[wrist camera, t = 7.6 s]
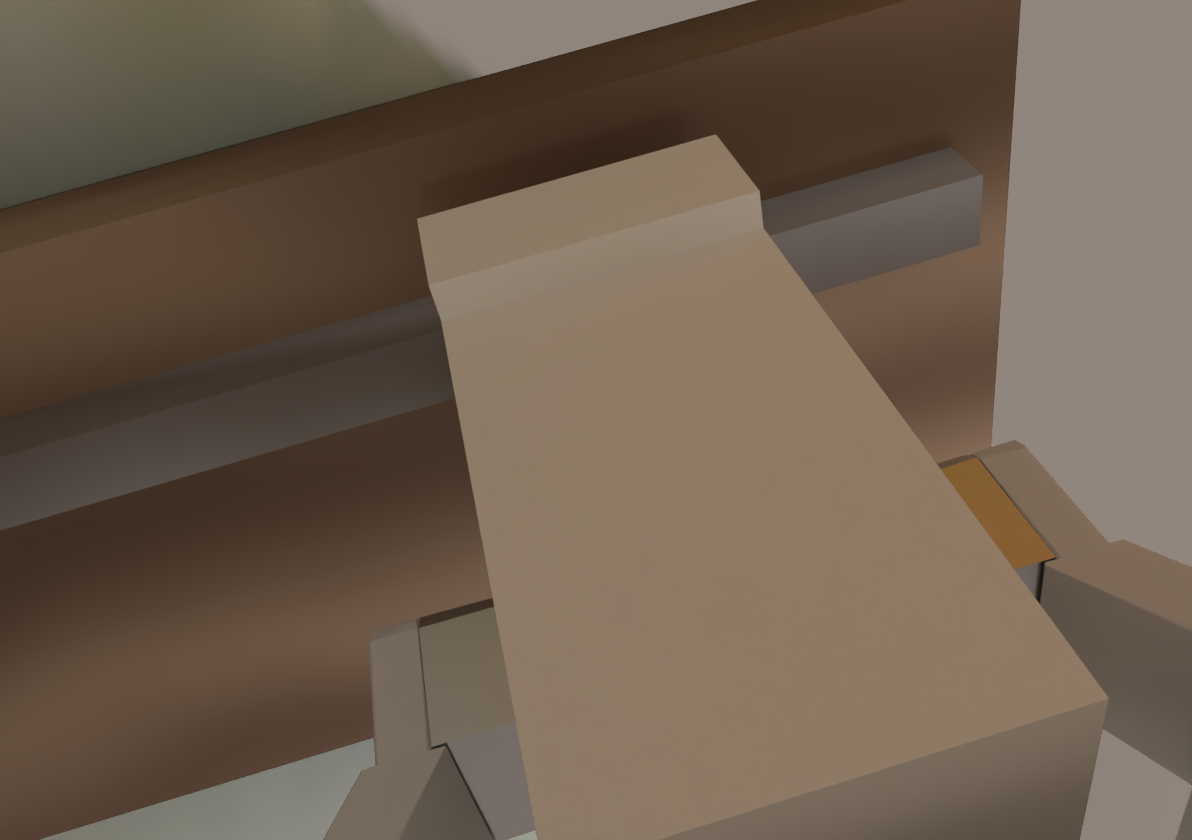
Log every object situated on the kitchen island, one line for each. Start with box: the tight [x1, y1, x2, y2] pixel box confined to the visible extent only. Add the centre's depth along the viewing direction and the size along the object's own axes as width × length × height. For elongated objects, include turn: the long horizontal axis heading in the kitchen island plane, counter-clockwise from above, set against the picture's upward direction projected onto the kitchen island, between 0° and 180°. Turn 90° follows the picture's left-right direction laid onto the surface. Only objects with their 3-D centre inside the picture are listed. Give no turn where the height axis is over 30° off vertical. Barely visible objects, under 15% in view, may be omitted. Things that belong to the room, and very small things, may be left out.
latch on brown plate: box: [0, 0, 1021, 840], centre depth 18 cm, size 12×24×2 cm, turn 101°
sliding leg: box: [417, 134, 1109, 840], centre depth 13 cm, size 9×4×10 cm, turn 11°
